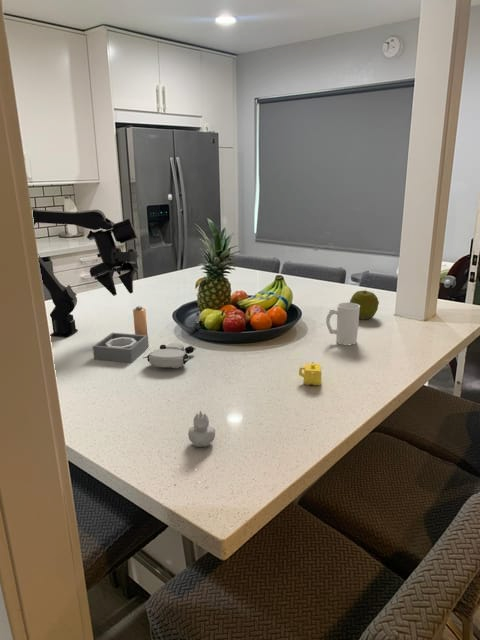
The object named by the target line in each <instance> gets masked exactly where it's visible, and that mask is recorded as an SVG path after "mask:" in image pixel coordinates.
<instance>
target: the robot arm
mask: <svg viewBox="0 0 480 640" xmlns="http://www.w3.org/2000/svg"><path fill="white" fill-rule="evenodd" d="M31 210H33V217H34V226H35V225H36V224H37V223H39V224H54V225H71V226H72V225H73V226H78V227H81V228H84V229H89V233H88V234H87V236H86V239H87V240H89V241H92V240H94V242H95V245H96V247H97V250H98V253H97V254H96V255H97V258H100V259H101V262H100V263H98V264H95V265H94V266H92V267H89V268H90V269H89V274H90V278H94V280H97V281H98V282H99V284H101V285H102V286H103V287H104V288H105V289H106V290H107V291H108V292H109V293H110V295H112V296H113V297H114V296H117V289H116V285H115V282H114V279H113V277H114V274H115V272H116V273H117V274H118V275H119V276H118V278H119V280H120V281H121V283H122V285H123V286H124V287H125V289H126V290H127V292H128V294H133V293H134V275H135V274H136V272H137V270H138V269H139V267H138V264H137V259H138V257H139V254H138V251H137V249H136V248H129V249H128V250H127V251H122V249H121V248H120V247H119V248H118V247H117V245H116V243H115V241H116V242H117V243H120V244H125V243H127V242H131V241H134V240H137V239H139V238H138V234H137V231H136V229H135V226H134V225H133V223H132V221H131V219H130V218H125V219H123V220H121V221H118V222H116V223H115V222H113V221H112V220H110V219H109V218H107V217H106V215H105V213H104V212H103V210H100V209H89V210H82V211H63V210H61V211H59V210H48V209H47V210H43V209H36V208H32V209H31ZM114 239H115V240H114ZM39 261H40V268H41V274H42V280H43V283H42V284H43V285H44V287H45V288H46V289H47V291H48V292H49V294H50V297H51V301H52V303H53V304H54V307H53V309H52V311H51V312H50V314H49V316H50V319H51V324H52V325H51V326H52V331H53V332H52V333H50V336H52V337H63V338H67V337H70V336H72V335H74V334H75V333H76V332H78V328H77V326H76V320H75V319H74V315H73V314H71V313H72V312H73V311H74V310H75V308H76V306H77V303H78V298H77V294H78V293H75V292H74V290H73V289H72V287H71V285H69V284H68V285H67V286H64V285H63V284H62V283H61V282H60V281H59V280H58V278H57V277H56V276H55V274H54V273H53V272H52V270H51V269H50V268H49V266H48V265H47V264H46V262H45V261H44V260H43V258H42V257H41V255H39Z"/></svg>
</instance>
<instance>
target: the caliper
mask: <svg viewBox="0 0 480 640" xmlns="http://www.w3.org/2000/svg"><path fill="white" fill-rule="evenodd" d="M195 314H196V315H195V324H196V323H199V321H200V314H201V312H199V311H196V312H195Z"/></svg>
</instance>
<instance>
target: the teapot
mask: <svg viewBox="0 0 480 640" xmlns="http://www.w3.org/2000/svg"><path fill="white" fill-rule="evenodd" d="M321 365H322V364H321V363H314V362H311V363H309V362H307V363H306V362H305V365H304V366H299V368H298V369H299V371H298V375H299V376H300V377H302V378H303V383H304V385H305V384H306V385H305V386H310V385H314V386H316V385H319V386H320V385H321V383H322V367H321Z"/></svg>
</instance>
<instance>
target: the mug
mask: <svg viewBox="0 0 480 640" xmlns="http://www.w3.org/2000/svg"><path fill="white" fill-rule="evenodd" d="M359 311H360V305H358V304H355V303H350V302H339V303H338V304H337V309H334V308H330V309H329V312H328V313H327V315H326V319H325V323H326V324H325V325H326V327H327V329H328V331H329V334H330V335H333V334H334V335H336V339H335V340H336V341H335V342H336V343H337V342H338V344H339V343H340V345H342V344H346V345H345V346H349V345H348V344H353V345H355V344H354V343H356V344H357V340H358V331H359V330H358V329H359V322H360V321H359V320H360V319H359ZM334 315H337V316H336V328H332V326H331V323H330V322H331V321H330V320H331V318H332V316H334Z"/></svg>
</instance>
